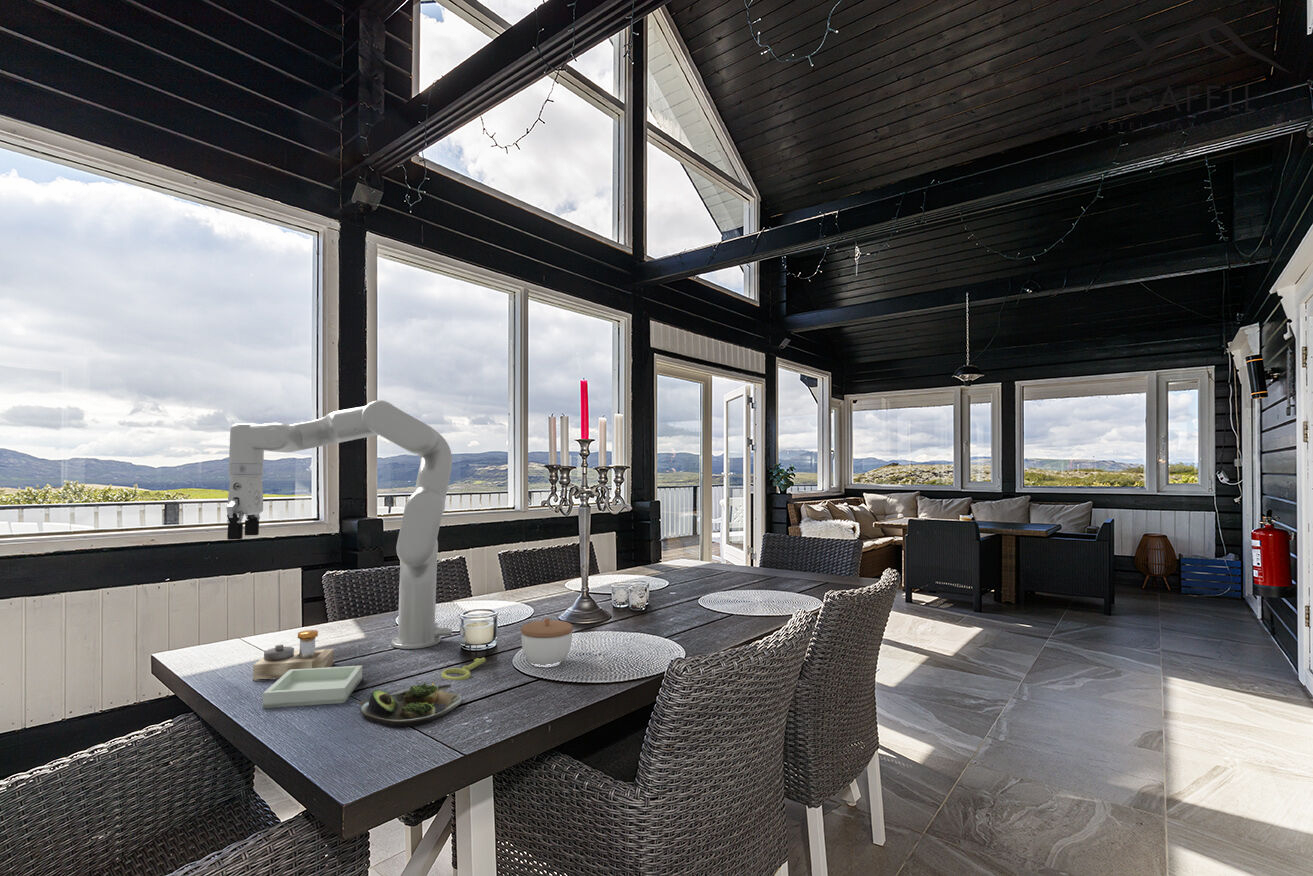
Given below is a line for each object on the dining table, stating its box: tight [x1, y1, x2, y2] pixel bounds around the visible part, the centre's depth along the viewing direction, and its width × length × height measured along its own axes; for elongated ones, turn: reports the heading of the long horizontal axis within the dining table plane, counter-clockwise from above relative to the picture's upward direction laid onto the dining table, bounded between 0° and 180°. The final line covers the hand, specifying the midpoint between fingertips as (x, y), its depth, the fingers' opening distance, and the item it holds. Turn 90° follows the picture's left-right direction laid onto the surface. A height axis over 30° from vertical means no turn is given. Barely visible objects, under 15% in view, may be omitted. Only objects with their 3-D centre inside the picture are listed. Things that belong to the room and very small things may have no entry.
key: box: [440, 657, 487, 681], centre depth 149 cm, size 7×12×2 cm, turn 173°
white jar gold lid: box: [297, 629, 319, 659], centre depth 148 cm, size 4×4×9 cm
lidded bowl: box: [520, 617, 573, 665], centre depth 155 cm, size 13×13×11 cm
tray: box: [262, 665, 363, 709], centre depth 134 cm, size 15×15×3 cm
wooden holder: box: [252, 644, 335, 681], centre depth 148 cm, size 14×10×6 cm
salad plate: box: [356, 682, 463, 728], centre depth 127 cm, size 19×18×5 cm
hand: (243, 537), depth 162 cm, fingers open, 9 cm apart
